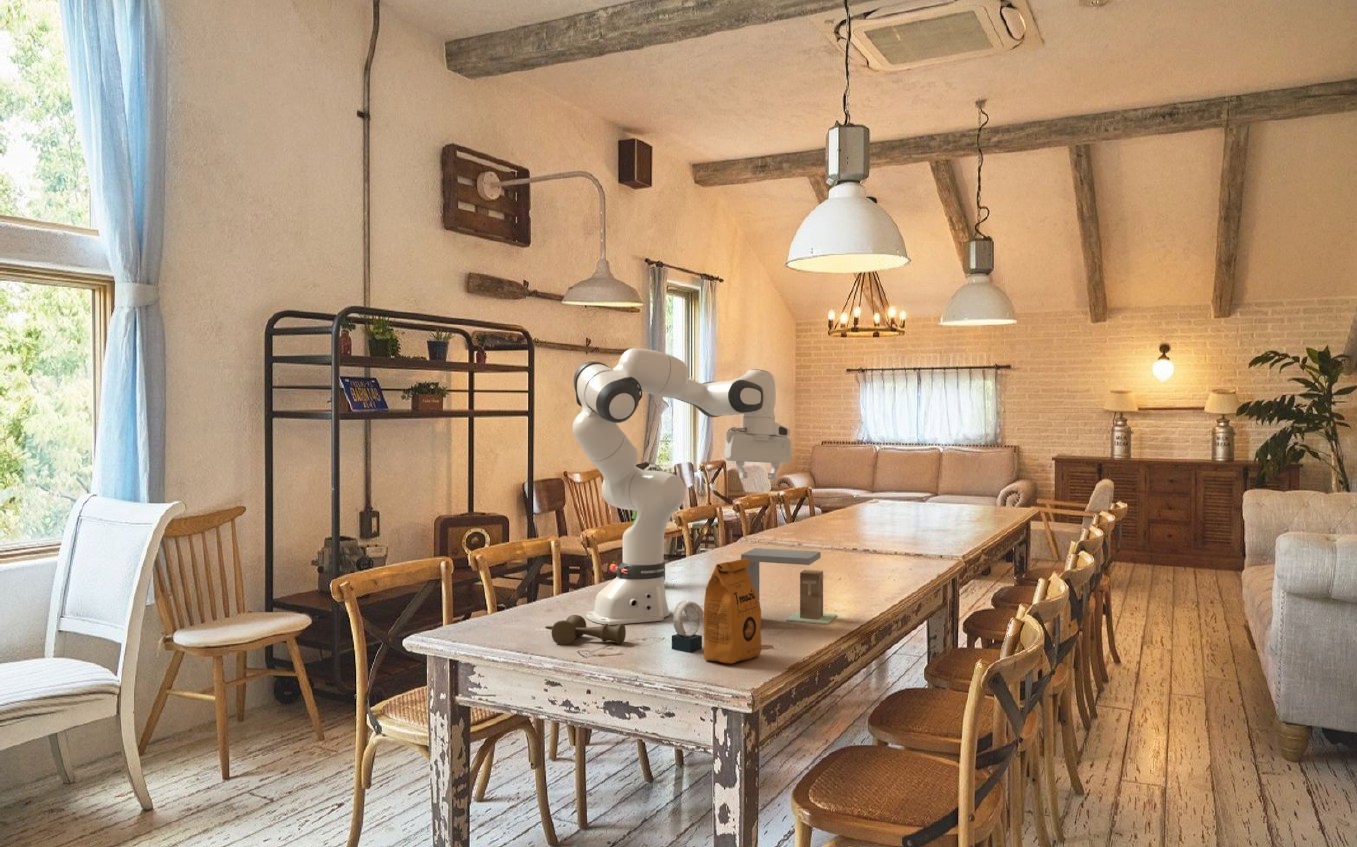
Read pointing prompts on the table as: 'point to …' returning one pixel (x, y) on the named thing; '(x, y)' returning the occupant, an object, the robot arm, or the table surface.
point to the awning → (775, 560)
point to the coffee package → (731, 615)
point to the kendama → (585, 631)
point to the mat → (823, 620)
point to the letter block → (811, 594)
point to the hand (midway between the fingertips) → (757, 478)
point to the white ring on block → (689, 639)
